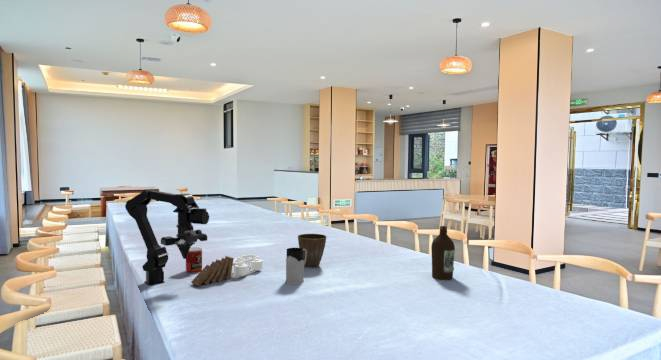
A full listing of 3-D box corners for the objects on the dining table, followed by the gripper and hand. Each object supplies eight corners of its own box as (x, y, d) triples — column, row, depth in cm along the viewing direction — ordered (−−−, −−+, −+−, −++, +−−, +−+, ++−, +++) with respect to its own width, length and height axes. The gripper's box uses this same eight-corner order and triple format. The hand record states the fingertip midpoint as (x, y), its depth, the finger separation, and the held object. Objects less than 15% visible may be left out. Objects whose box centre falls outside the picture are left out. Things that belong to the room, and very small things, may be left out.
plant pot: (327, 263, 219) (327, 234, 218) (324, 270, 204) (324, 239, 203) (300, 262, 220) (300, 233, 219) (295, 269, 205) (295, 238, 205)
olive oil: (425, 277, 193) (427, 225, 192) (441, 274, 199) (442, 223, 198) (443, 283, 185) (444, 228, 184) (458, 279, 190) (460, 226, 189)
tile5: (226, 280, 185) (229, 258, 186) (221, 277, 189) (224, 256, 189) (229, 280, 186) (233, 258, 187) (224, 277, 190) (228, 256, 191)
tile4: (217, 280, 182) (226, 259, 185) (212, 278, 186) (221, 257, 188) (221, 281, 183) (230, 260, 186) (216, 279, 187) (225, 258, 190)
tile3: (211, 281, 180) (222, 260, 184) (205, 279, 183) (215, 259, 187) (214, 283, 181) (225, 262, 185) (208, 281, 184) (218, 260, 188)
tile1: (195, 284, 174) (211, 266, 179) (190, 281, 178) (206, 264, 183) (198, 287, 175) (214, 269, 180) (193, 284, 179) (209, 266, 184)
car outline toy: (239, 280, 186) (239, 264, 186) (221, 277, 191) (221, 261, 191) (266, 270, 203) (266, 256, 203) (249, 267, 209) (249, 253, 208)
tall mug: (281, 283, 182) (281, 250, 182) (298, 275, 195) (298, 244, 194) (297, 286, 178) (297, 252, 178) (313, 278, 191) (314, 246, 190)
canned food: (191, 274, 196) (191, 251, 195) (182, 271, 200) (182, 249, 200) (205, 270, 202) (205, 248, 201) (195, 268, 206) (195, 246, 206)
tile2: (204, 282, 177) (217, 263, 181) (199, 280, 181) (212, 260, 185) (207, 285, 178) (220, 265, 182) (202, 282, 182) (215, 263, 186)
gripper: (171, 227, 164) (170, 265, 164) (213, 223, 177) (213, 258, 177) (160, 224, 172) (160, 260, 172) (201, 220, 185) (201, 254, 185)
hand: (184, 258), depth 177 cm, fingers closed
